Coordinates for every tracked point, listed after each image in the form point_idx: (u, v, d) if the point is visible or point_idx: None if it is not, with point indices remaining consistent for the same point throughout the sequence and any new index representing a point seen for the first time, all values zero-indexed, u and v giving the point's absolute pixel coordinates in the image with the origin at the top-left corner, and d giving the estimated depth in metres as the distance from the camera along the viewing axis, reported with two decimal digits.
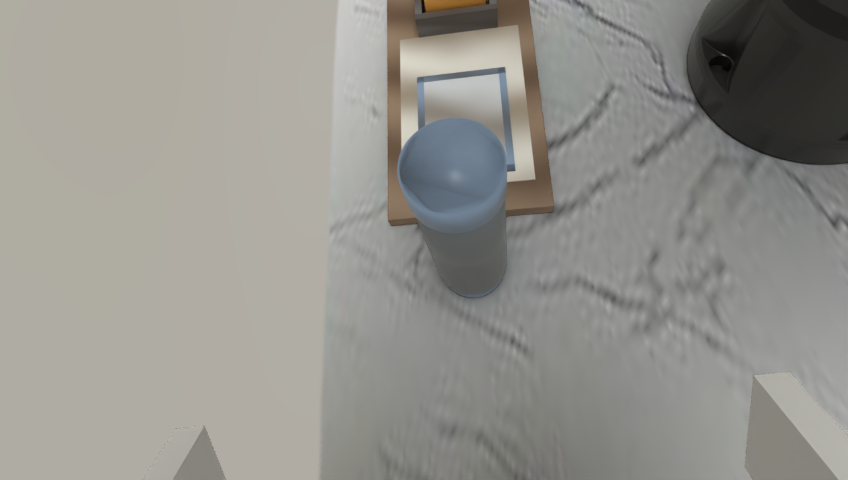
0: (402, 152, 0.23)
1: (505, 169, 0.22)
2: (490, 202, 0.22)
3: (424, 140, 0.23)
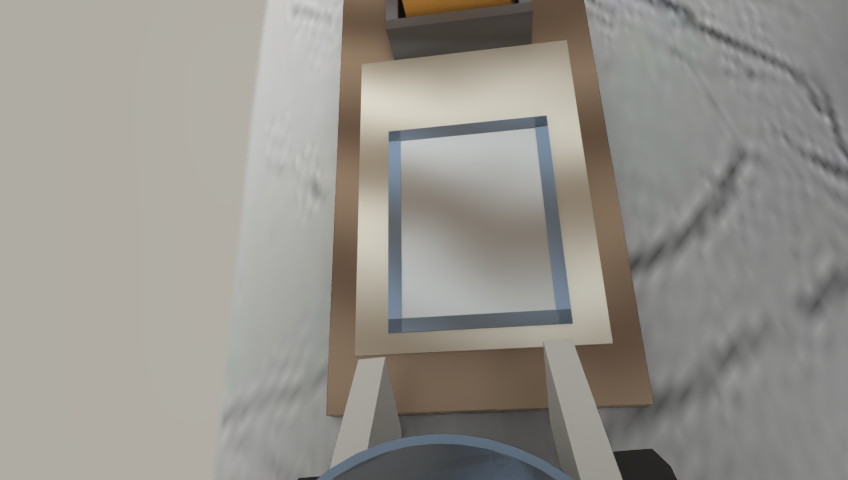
0: None
1: None
2: None
3: None
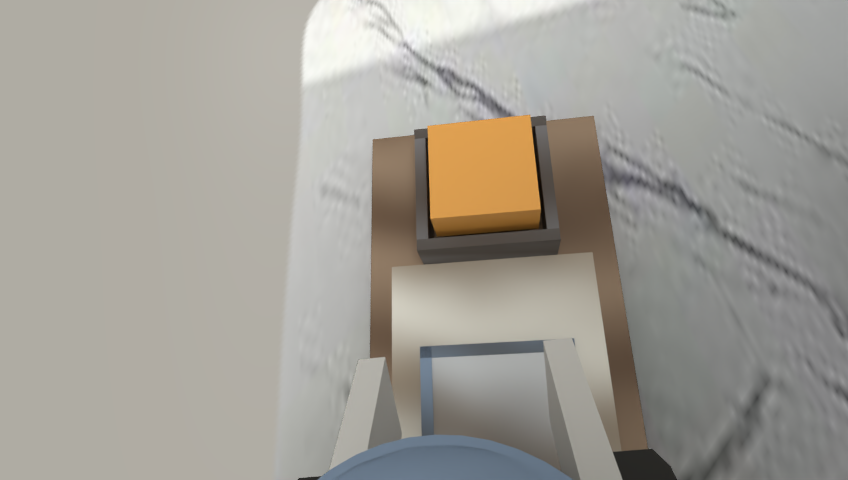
0: None
1: None
2: None
3: None
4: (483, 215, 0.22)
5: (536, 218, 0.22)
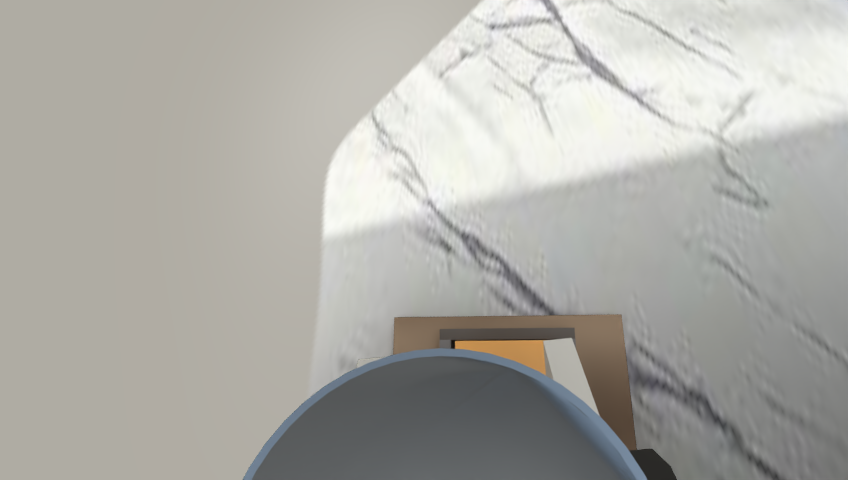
0: (252, 472, 0.06)
1: None
2: None
3: (344, 428, 0.06)
4: None
5: None
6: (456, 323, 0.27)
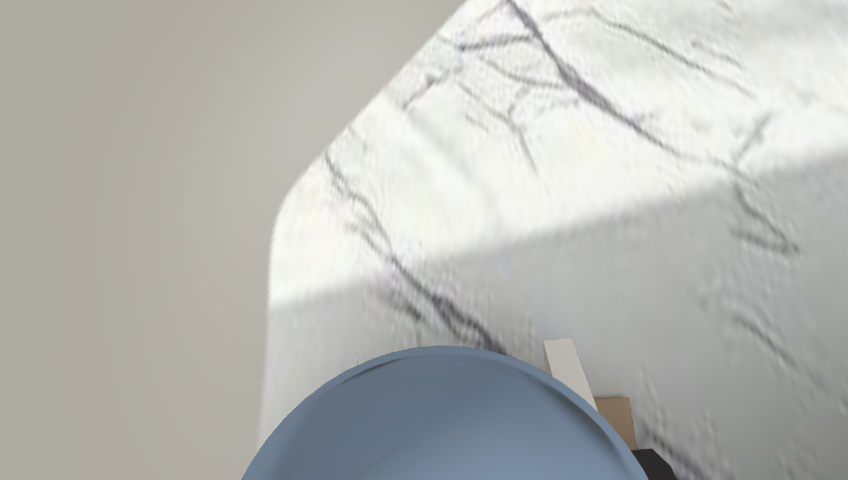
0: (254, 469, 0.06)
1: None
2: None
3: (344, 425, 0.06)
4: None
5: None
6: None
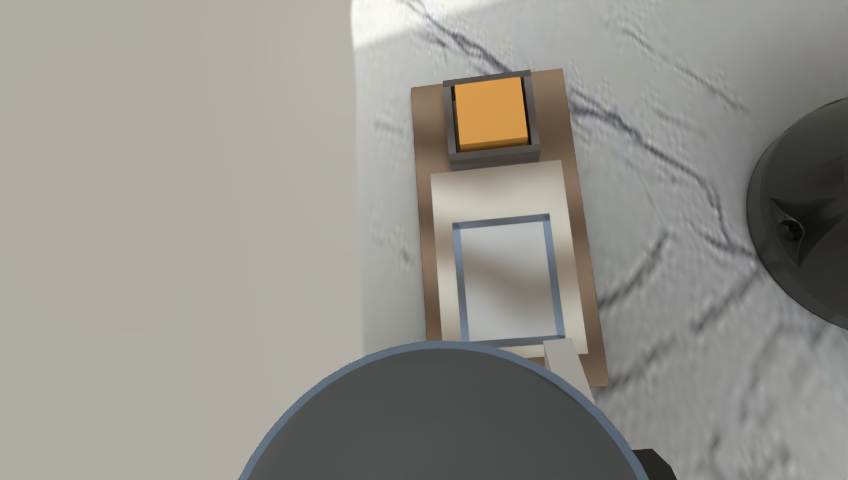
0: (252, 463, 0.06)
1: None
2: None
3: (343, 420, 0.06)
4: (492, 141, 0.35)
5: (525, 142, 0.36)
6: None
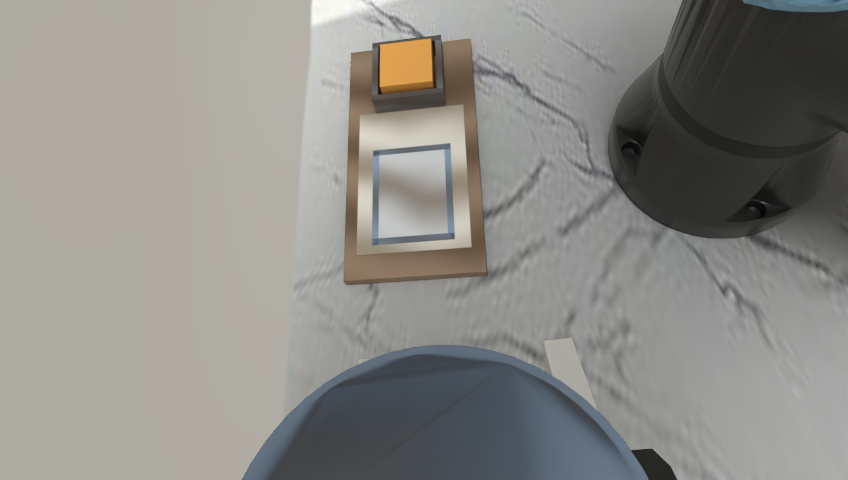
0: (254, 468, 0.06)
1: None
2: None
3: (345, 424, 0.06)
4: (405, 84, 0.45)
5: (432, 87, 0.45)
6: None
